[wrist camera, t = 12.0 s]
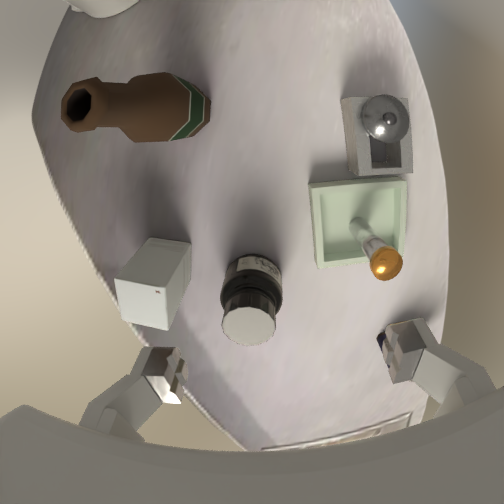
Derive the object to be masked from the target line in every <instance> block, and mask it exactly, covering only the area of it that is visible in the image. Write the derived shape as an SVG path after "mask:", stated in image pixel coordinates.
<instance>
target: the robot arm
mask: <svg viewBox="0 0 504 504" xmlns="http://www.w3.org/2000/svg"><path fill="white" fill-rule="evenodd" d="M64 1H66V2H67V3H69V4H71V5H72V10H74V11H75V12H85V13H87V14H88V15H90V16H92V17H95V18H105V17H110V16H113V15H116V14H118V13H120V12H122V11H124V10H126V9H128V8H129V7H131V6H132V5H134V4H135V3H137V2H138V1H139V0H64ZM385 334H386V336H387V337H386V338H385V339H384V340H383V346H382V351H383V357H384V360H385V363H386V364H388V365H389V366H390V368H389V374H390V377H391V380H392V382H393V384H395V383H400V382H404V381H408V380H412V381H413V382H415V383H416V384H417V385H418V386H419V387H421V388H422V389H423V390H424V391H425V392H427V393H428V394H429V395H430V396H431V397H432V398H434V399H435V400H436V401H437V402H439V403H440V404H441V405H440V407H439V408H438V410H437V412H436V413H435V415H434V416H433V417H434V419H431V420H429V421H426V422H423V423H420V424H417V425H414V426H411V427H407V428H404V429H401V430H397V431H394V432H390V433H387V434H383V435H379V436H375V437H370V438H366V439H361V440H357V441H351V442H346V443H340V444H334V445H328V446H321V447H313V448H304V449H293V450H279V451H242V452H240V451H213V450H199V449H188V448H180V447H172V446H164V445H158V444H152V443H147V442H145V440H144V438H143V437H142V436H141V435H140V434H139V433H138V432H137V430H138V429H139V428H140V427H141V426H142V425H143V424H144V423H145V422H146V420H147V419H148V418H149V417H150V416H151V415H152V414H153V413H154V412H155V411H156V410H157V409H158V408H159V407H160V406H161V405H162V402H164V403H181V401H182V397H183V394H184V389H183V387H182V386H183V385H184V384H185V383H186V382H187V379H188V368H187V364H186V362H185V361H184V360H183V359H182V358H180V356H181V352H180V350H179V348H177V347H146V346H144V347H143V348H142V349H141V351H140V353H139V356H138V358H137V360H136V362H135V364H134V366H133V369H132V371H131V373H130V375H126V376H124V377H123V378H122V379H120V380H119V381H118V382H116V383H115V384H114V385H112V386H111V387H110V388H108V389H107V390H106V391H104V392H103V393H102V394H100V395H99V396H98V397H96V398H95V399H93V400H92V401H91V402H89V404H88V406H87V408H86V410H85V412H84V414H83V416H82V419H81V421H80V423H79V425H76V424H73V423H70V422H68V421H65V420H62V419H60V418H57V417H54V416H52V415H49V414H47V413H44V412H42V411H40V410H37V409H35V408H33V407H31V406H28V405H21V406H19V407H17V408H15V409H14V410H12V411H11V412H9V413H8V414H6V415H4V416H3V417H2V418H0V504H504V386H503V387H501V388H499V389H497V390H496V388H495V386H494V384H493V382H492V380H491V379H490V377H489V375H488V373H487V372H486V370H485V368H484V367H483V366H481V365H479V364H478V363H475V362H474V361H472V360H470V359H469V358H467V357H465V356H463V355H461V354H460V353H458V352H456V351H454V350H452V349H451V348H449V347H447V346H445V345H443V344H438V342H437V340H436V339H435V337H434V335H433V334H432V332H431V330H430V329H429V327H428V326H427V324H426V322H425V321H424V319H423V318H421V317H420V318H416V319H412V320H407V321H403V322H399V323H394V324H390V325H387V327H386V330H385Z"/></svg>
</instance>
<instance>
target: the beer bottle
mask: <svg viewBox="0 0 504 504" xmlns="http://www.w3.org/2000/svg"><path fill="white" fill-rule="evenodd" d="M210 105H211V101H210V100H209V99H208V98H207V97H206V96H205V95H204V94H203V93H202V92H201V91H200V90H199V89H198V88H197V87H196V86H195V85H193V84H191V83H189V82H187V81H185V80H183V79H181V78H179V77H177V76H175V75H173V74H170V73H165V72H162V73H153V74H146V75H139V76H136V77H133V78H132V79H131V80H130V81H129V82H128V83H127V84H125V83H110V82H102V81H101V80H100V79H99V78H98V77H94V78H90V79H86V80H82V81H79V82H76V83H73V84H72V85H71V86H70V88H69V89H68V91H67V92H66V94H65V95H64V97H63V98H62V102H61V119H62V120H63V122H64V123H65V124H66V125H67V126H68V127H69V129H70V130H72V131H75V132H84V131H91V130H95V129H96V127H119V128H120V129H121V130H122V131H123V132H124V133H125V134H126V135H127V136H128V138H129V139H131V140H132V141H133V142H135V143H136V142H159V141H172V140H177V139H182V138H187V137H192V136H194V135H195V134H196V133H197V132H199V131H200V130H201V129H202V128H203V127H204V126H205V125H206V124H207V123H208V122H209V121H210Z"/></svg>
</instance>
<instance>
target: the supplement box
mask: <svg viewBox="0 0 504 504" xmlns="http://www.w3.org/2000/svg"><path fill="white" fill-rule="evenodd" d="M190 276H191V243H187V242H180V241H173V240H166V239H159V238H151V237H150V238H149V239H148V240H147V241H146V242H145V243H144V244H143V245H142V246H141V248H140V249H139V250H138V251H137V252H136V253H135V254H134V256H133V257H132V258H131V259H130V260H129V261H128V263H127V264H126V265H125V266H124V267H123V269H122V270H121V271H120V272H119V273H118V275H117V276H116V277H115V278H114V281H115V287H116V293H117V298H118V304H119V309H120V314H121V319H122V320H124V321H128V322H132V323H136V324H140V325H145V326H149V327H154V328H158V329H163V330H167V331H168V330H169V328H170V326H171V323H172V321H173V319H174V317H175V314H176V312H177V310H178V307H179V305H180V302H181V300H182V298H183V296H184V293H185V291H186V289H187V287H188V285H189V282H190Z"/></svg>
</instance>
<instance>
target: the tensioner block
mask: <svg viewBox="0 0 504 504" xmlns="http://www.w3.org/2000/svg"><path fill="white" fill-rule="evenodd" d="M340 102H341V109H342V116H343V124H344V132H345V141H346V150H347V161H348V170H350V171H352V172H353V173H355V174H356V175H358V176H368V175H383V174H403V173H413V153H412V136H411V124H410V114H409V106H408V99H406V98H395V97H393V96H390V95H379V96H374V97H349V98H346V99H342V100H340ZM369 135H370V136H371V137H372V138H374V139H375V140H378V141H381V142H386V156H387V162H371V150H370V139H369Z"/></svg>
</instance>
